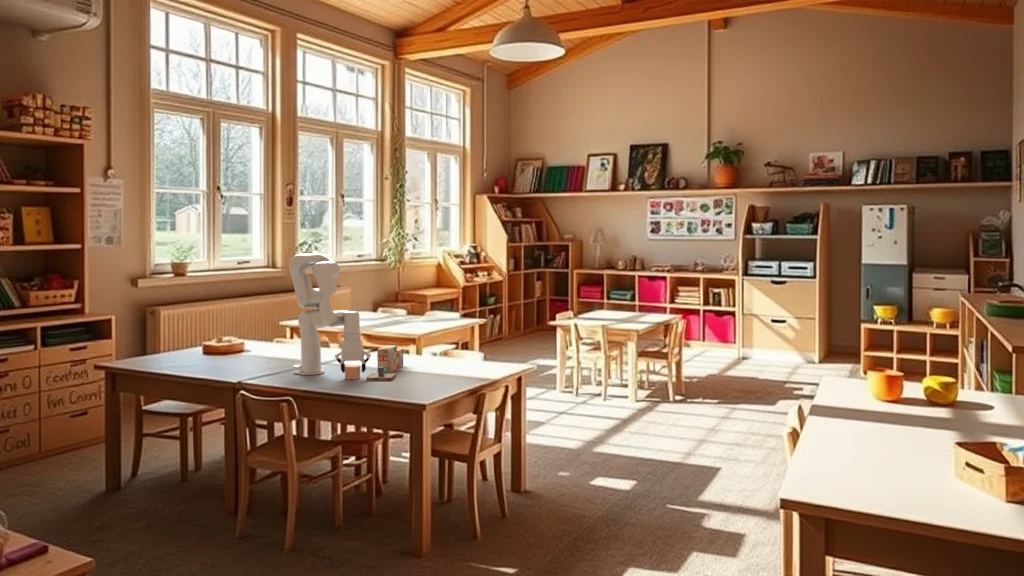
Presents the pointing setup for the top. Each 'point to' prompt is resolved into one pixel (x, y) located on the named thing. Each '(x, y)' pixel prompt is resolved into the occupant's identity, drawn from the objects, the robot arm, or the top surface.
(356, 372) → the reddish brown cube
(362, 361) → the robot arm
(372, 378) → the base plate
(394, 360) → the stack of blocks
